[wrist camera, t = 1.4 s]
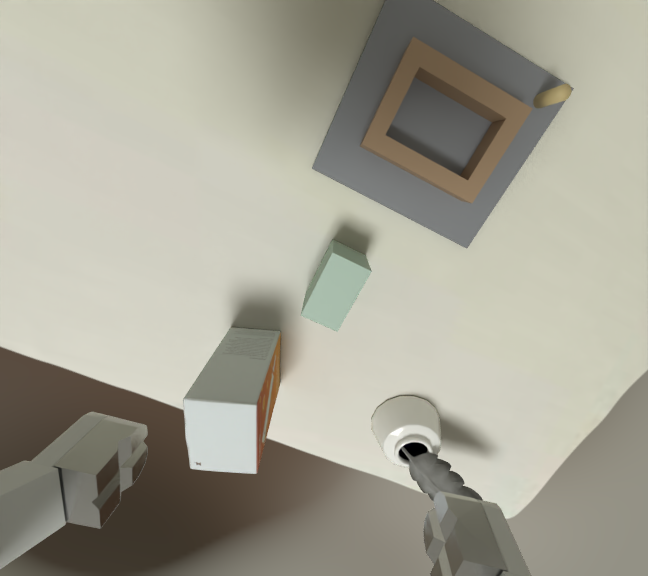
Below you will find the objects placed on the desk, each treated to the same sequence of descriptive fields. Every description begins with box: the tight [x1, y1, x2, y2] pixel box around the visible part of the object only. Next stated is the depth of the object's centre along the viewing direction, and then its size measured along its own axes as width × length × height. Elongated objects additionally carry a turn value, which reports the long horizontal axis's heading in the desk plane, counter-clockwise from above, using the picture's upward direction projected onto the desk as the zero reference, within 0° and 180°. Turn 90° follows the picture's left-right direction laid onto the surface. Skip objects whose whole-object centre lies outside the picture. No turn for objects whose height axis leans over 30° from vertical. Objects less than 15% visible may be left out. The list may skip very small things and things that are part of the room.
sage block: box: [301, 240, 372, 332], centre depth 32 cm, size 4×7×6 cm, turn 154°
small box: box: [183, 327, 281, 474], centre depth 33 cm, size 8×6×13 cm
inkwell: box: [371, 396, 483, 501], centre depth 38 cm, size 9×18×10 cm, turn 59°
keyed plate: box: [312, 0, 574, 248], centre depth 28 cm, size 18×16×4 cm
